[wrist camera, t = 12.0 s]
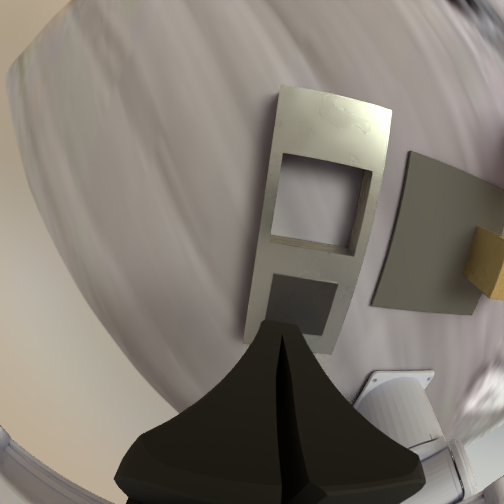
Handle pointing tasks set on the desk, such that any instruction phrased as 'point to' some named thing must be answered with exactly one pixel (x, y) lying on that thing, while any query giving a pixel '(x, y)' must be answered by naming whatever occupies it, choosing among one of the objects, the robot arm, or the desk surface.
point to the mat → (436, 238)
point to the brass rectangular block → (486, 263)
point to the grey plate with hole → (307, 252)
